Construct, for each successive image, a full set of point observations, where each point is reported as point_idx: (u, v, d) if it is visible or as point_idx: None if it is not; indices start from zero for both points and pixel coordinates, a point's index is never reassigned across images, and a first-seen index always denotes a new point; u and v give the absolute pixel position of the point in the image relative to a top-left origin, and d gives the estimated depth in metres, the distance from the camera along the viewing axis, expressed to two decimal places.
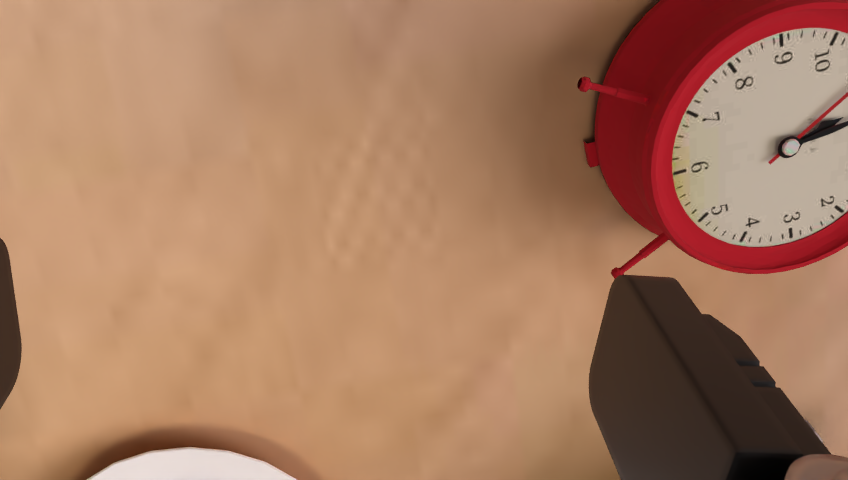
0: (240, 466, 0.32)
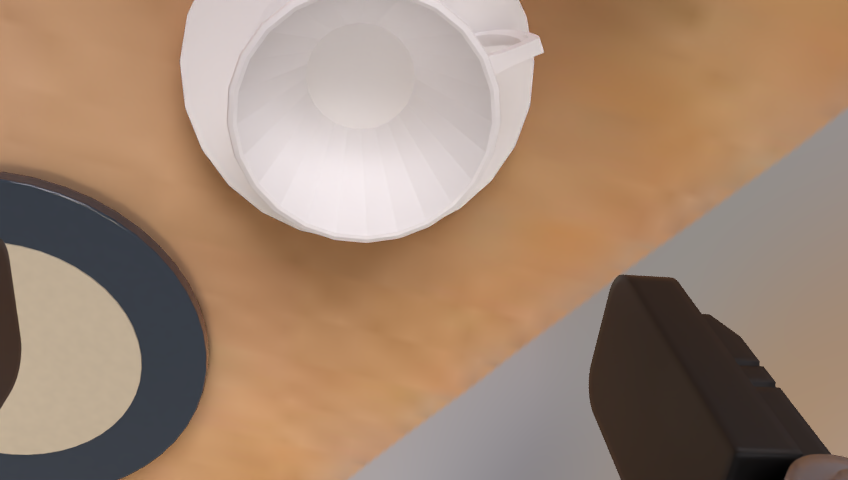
0: None
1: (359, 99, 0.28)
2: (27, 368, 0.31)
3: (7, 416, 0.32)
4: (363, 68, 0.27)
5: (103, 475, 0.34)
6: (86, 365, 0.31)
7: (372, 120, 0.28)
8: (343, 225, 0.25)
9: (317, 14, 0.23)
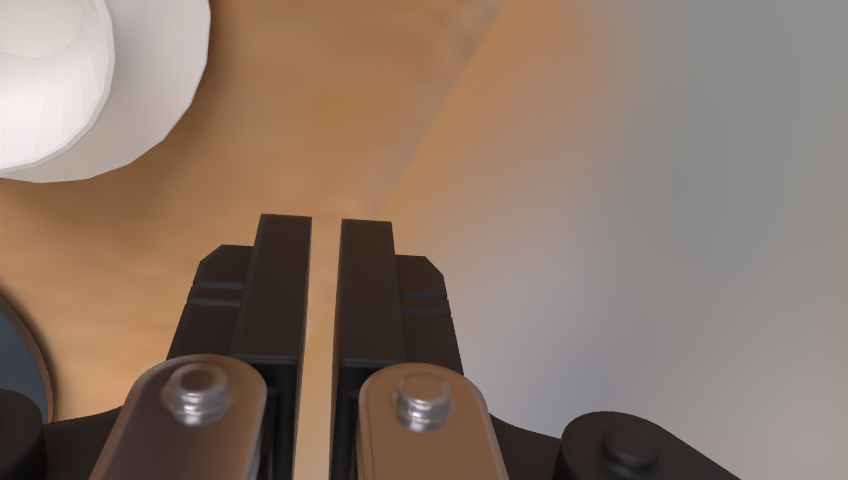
0: None
1: (32, 22, 0.25)
2: None
3: None
4: None
5: None
6: None
7: (58, 41, 0.26)
8: (9, 155, 0.23)
9: None
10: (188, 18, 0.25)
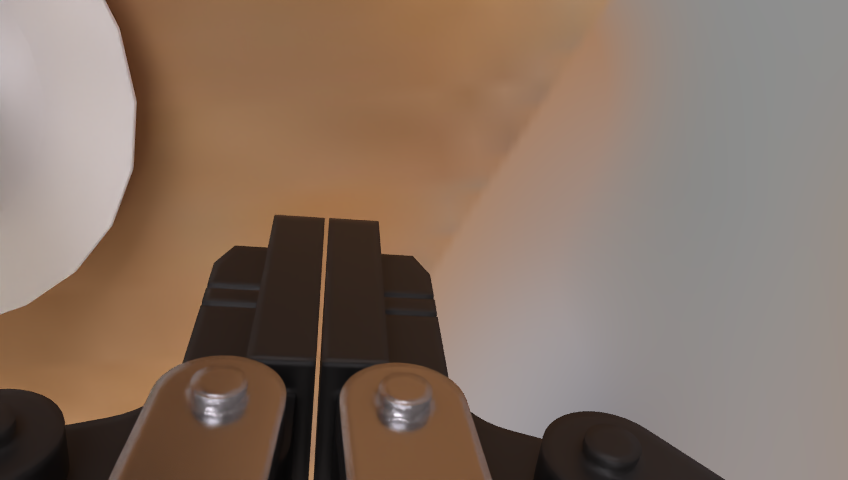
0: None
1: None
2: None
3: None
4: None
5: None
6: None
7: None
8: None
9: None
10: (104, 106, 0.17)
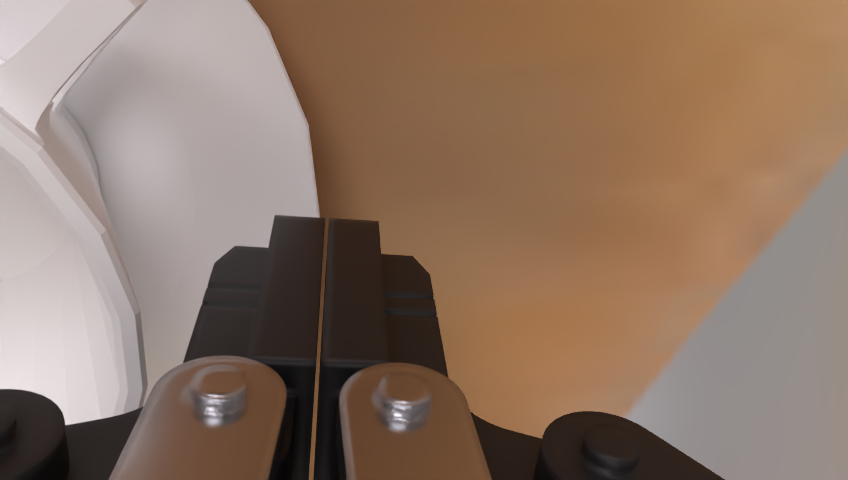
0: None
1: None
2: None
3: None
4: None
5: None
6: None
7: (26, 253, 0.14)
8: None
9: None
10: None
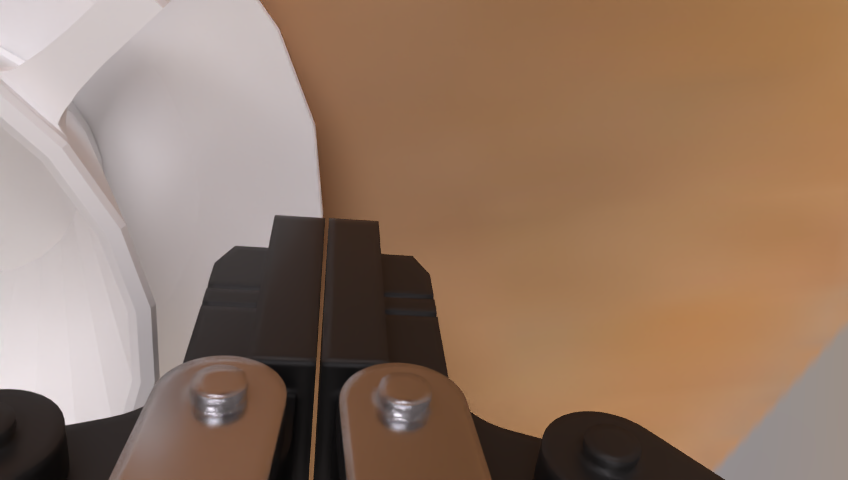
0: None
1: None
2: None
3: None
4: None
5: None
6: None
7: (28, 245, 0.14)
8: None
9: None
10: None
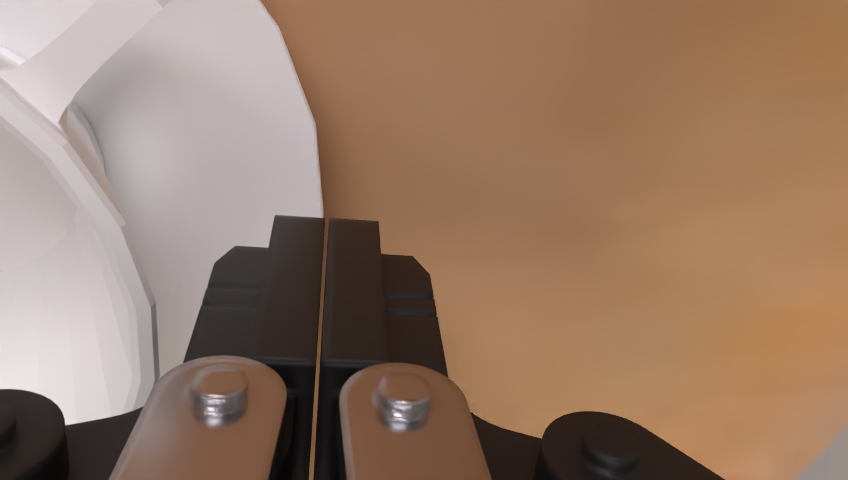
0: None
1: None
2: None
3: None
4: None
5: None
6: None
7: (30, 244, 0.14)
8: None
9: None
10: None
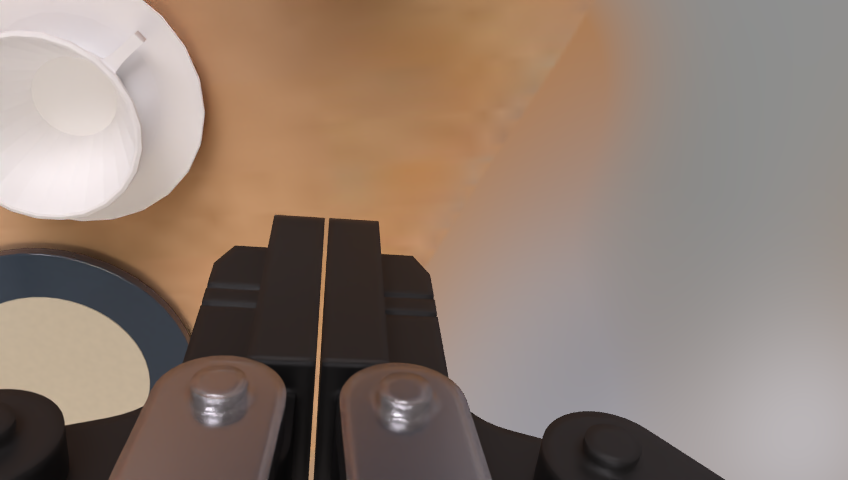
0: None
1: (81, 113, 0.37)
2: (70, 381, 0.43)
3: (72, 419, 0.44)
4: (73, 89, 0.36)
5: None
6: (108, 368, 0.43)
7: (98, 125, 0.37)
8: (67, 207, 0.34)
9: None
10: (189, 114, 0.37)
